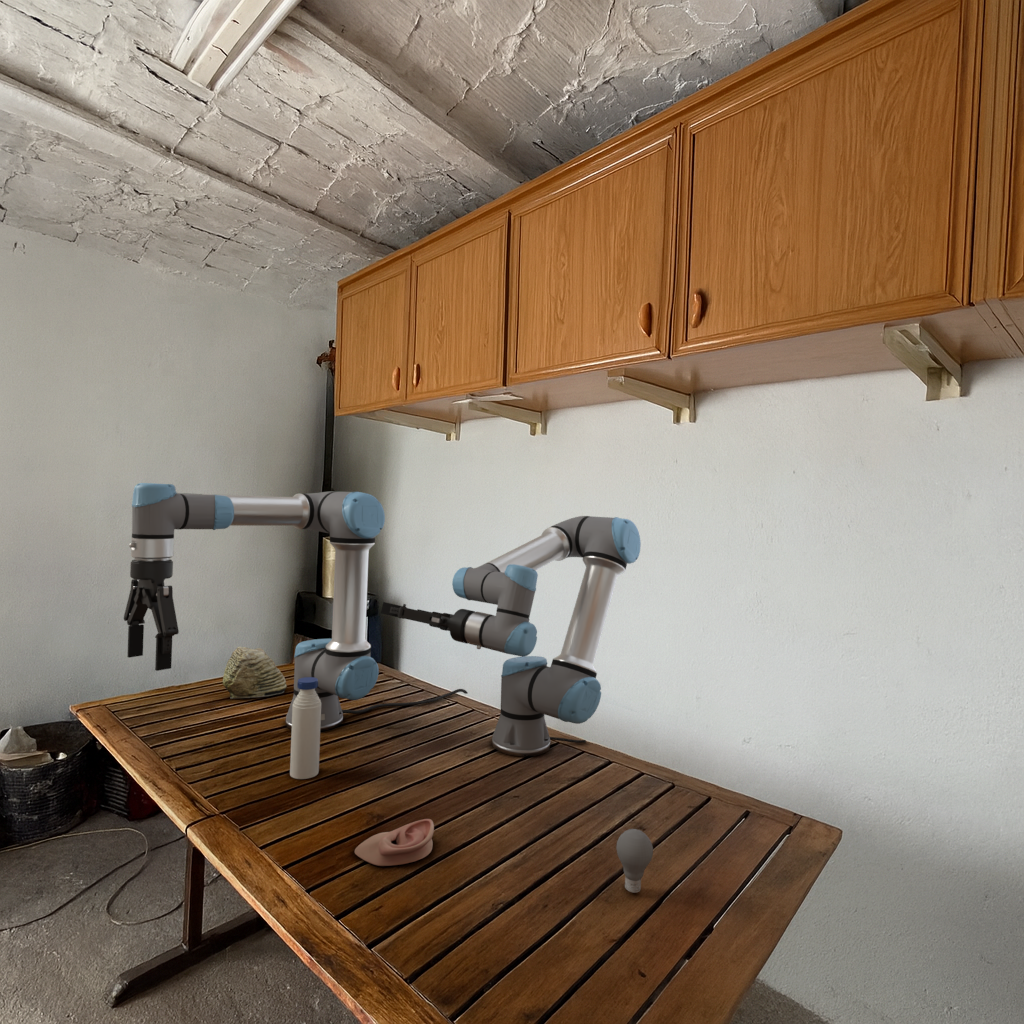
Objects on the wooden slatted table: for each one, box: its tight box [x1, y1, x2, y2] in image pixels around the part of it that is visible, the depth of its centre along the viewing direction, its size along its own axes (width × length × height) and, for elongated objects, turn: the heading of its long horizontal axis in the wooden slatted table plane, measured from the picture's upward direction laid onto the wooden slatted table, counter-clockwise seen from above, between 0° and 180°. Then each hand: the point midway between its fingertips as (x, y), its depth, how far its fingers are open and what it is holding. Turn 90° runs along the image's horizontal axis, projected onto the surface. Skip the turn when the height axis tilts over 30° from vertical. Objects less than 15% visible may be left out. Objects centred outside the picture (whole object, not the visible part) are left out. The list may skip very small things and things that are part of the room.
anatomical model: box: [354, 818, 435, 867], centre depth 115 cm, size 13×4×12 cm
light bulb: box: [615, 828, 654, 894], centre depth 106 cm, size 6×6×10 cm
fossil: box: [222, 646, 288, 699], centre depth 198 cm, size 9×18×15 cm, turn 132°
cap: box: [297, 677, 318, 690], centre depth 144 cm, size 4×4×2 cm
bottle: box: [289, 689, 321, 780], centre depth 144 cm, size 6×6×21 cm
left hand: (148, 662), depth 129 cm, fingers open, 13 cm apart
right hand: (400, 611), depth 156 cm, fingers open, 13 cm apart
